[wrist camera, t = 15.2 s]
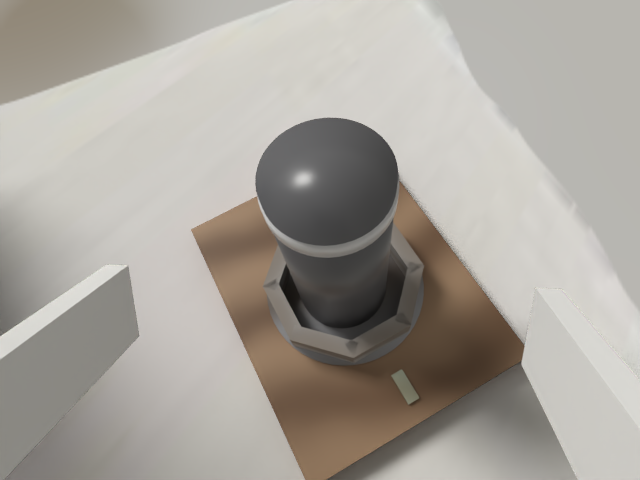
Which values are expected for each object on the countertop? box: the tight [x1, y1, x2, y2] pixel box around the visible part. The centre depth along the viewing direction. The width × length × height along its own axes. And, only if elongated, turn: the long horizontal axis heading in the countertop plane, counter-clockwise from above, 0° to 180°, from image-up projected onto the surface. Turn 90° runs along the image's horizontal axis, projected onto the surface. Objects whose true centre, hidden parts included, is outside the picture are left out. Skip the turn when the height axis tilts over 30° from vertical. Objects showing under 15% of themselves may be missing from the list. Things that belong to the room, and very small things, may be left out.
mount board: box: [191, 181, 525, 480], centre depth 31 cm, size 20×16×3 cm
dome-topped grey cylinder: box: [256, 118, 399, 328], centre depth 25 cm, size 6×6×14 cm
